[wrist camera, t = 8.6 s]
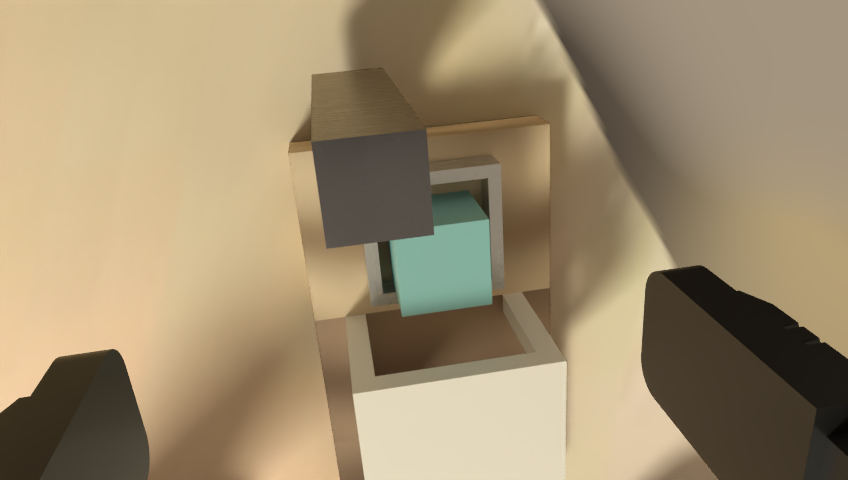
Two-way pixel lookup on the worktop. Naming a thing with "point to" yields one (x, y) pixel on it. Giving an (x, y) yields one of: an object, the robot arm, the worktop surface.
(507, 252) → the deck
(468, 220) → the block
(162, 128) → the worktop surface
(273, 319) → the worktop surface
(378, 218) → the grey angular piece
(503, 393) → the cream open box
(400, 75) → the worktop surface
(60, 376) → the robot arm
